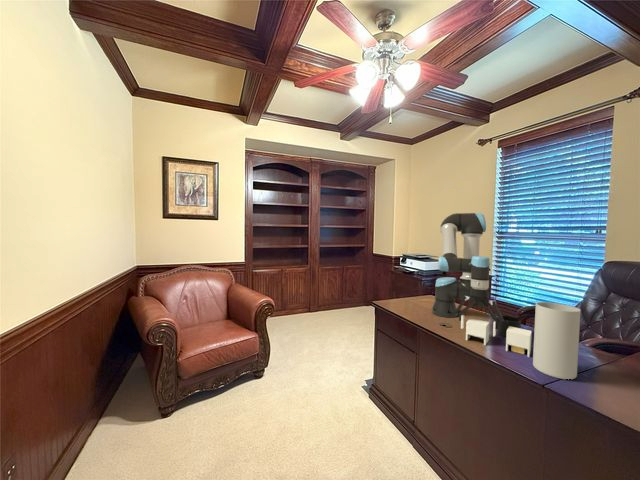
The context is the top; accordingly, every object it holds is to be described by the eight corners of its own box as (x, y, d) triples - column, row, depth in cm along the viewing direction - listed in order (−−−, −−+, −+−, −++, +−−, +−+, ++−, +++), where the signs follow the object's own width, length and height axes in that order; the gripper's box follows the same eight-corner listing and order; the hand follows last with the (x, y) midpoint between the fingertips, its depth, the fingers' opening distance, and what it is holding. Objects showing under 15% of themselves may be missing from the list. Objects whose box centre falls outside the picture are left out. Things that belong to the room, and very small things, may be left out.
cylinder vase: (524, 365, 104) (527, 303, 103) (546, 361, 107) (549, 301, 107) (562, 383, 92) (565, 312, 91) (585, 377, 96) (588, 310, 95)
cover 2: (508, 345, 122) (509, 326, 122) (530, 350, 117) (531, 330, 116) (505, 350, 116) (506, 330, 116) (529, 357, 111) (530, 336, 110)
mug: (529, 338, 130) (529, 320, 130) (508, 340, 128) (509, 321, 128) (511, 331, 140) (512, 314, 139) (492, 332, 137) (493, 315, 137)
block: (512, 347, 120) (513, 338, 120) (525, 351, 117) (525, 341, 117) (511, 351, 116) (511, 341, 116) (524, 354, 113) (524, 344, 113)
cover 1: (470, 335, 133) (470, 317, 133) (488, 340, 128) (489, 321, 127) (465, 340, 127) (466, 321, 127) (485, 345, 122) (486, 326, 121)
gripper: (449, 285, 132) (448, 326, 133) (509, 293, 115) (508, 341, 116) (453, 283, 138) (452, 323, 138) (512, 291, 121) (510, 336, 121)
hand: (477, 331), depth 127 cm, fingers open, 13 cm apart
